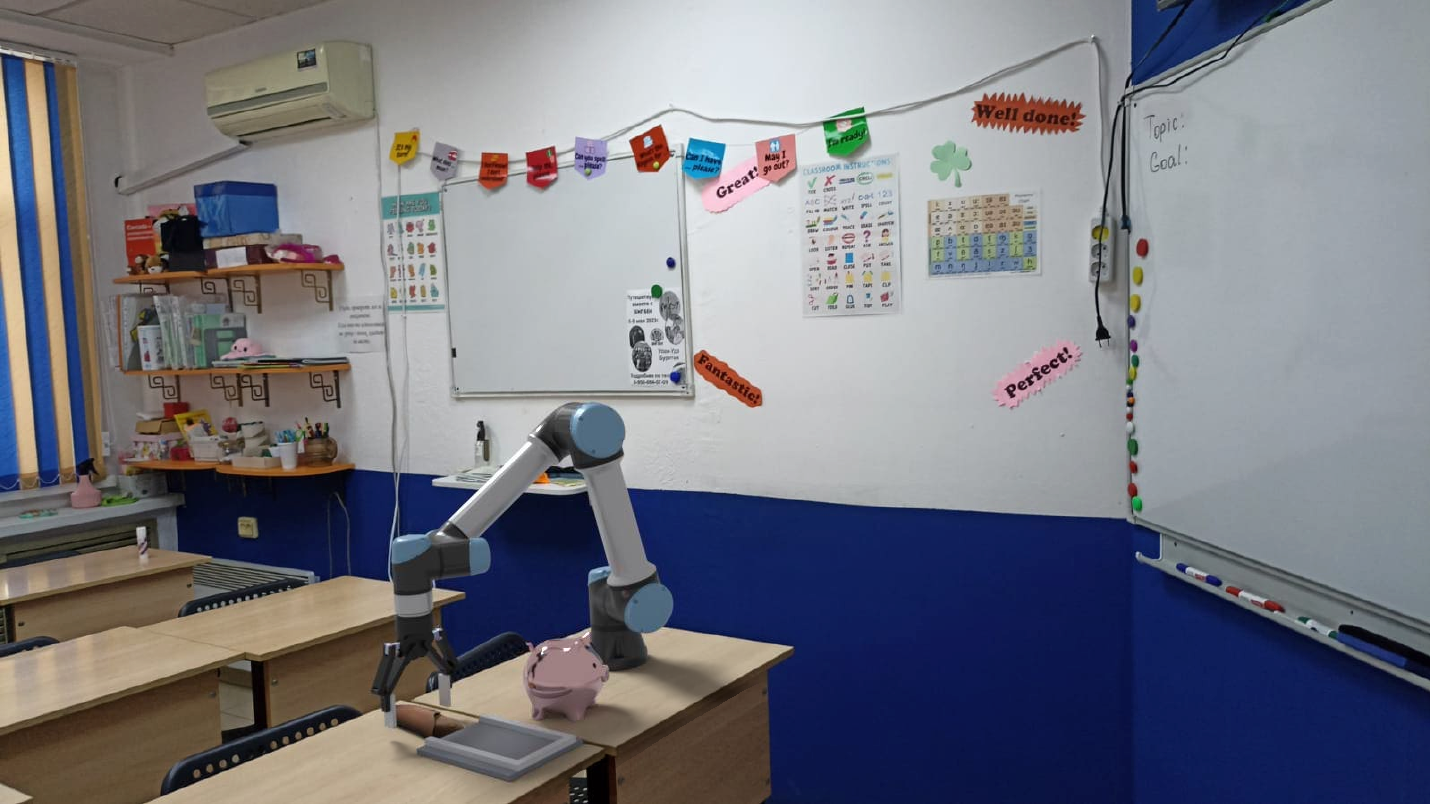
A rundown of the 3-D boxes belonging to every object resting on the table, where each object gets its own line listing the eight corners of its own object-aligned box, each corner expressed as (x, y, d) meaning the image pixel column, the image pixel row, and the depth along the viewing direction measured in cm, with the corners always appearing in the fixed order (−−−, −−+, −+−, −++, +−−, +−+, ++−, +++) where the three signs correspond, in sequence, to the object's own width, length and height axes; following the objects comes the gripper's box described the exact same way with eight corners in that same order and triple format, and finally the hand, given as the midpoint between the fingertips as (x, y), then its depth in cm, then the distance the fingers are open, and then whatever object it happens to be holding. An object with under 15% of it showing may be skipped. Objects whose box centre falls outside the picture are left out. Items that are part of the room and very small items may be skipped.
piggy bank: (597, 726, 195) (593, 647, 194) (513, 723, 199) (508, 646, 198) (620, 699, 210) (616, 626, 209) (541, 697, 214) (537, 625, 213)
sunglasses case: (470, 728, 197) (453, 705, 194) (445, 755, 193) (427, 732, 190) (421, 710, 209) (405, 688, 206) (397, 735, 205) (380, 713, 202)
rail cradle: (492, 720, 201) (491, 710, 201) (583, 743, 187) (582, 732, 187) (416, 754, 185) (415, 742, 185) (509, 781, 171) (509, 769, 171)
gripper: (450, 597, 210) (454, 694, 211) (348, 624, 190) (354, 732, 191) (474, 600, 206) (478, 700, 207) (373, 629, 185) (378, 740, 186)
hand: (418, 716), depth 199 cm, fingers open, 13 cm apart
